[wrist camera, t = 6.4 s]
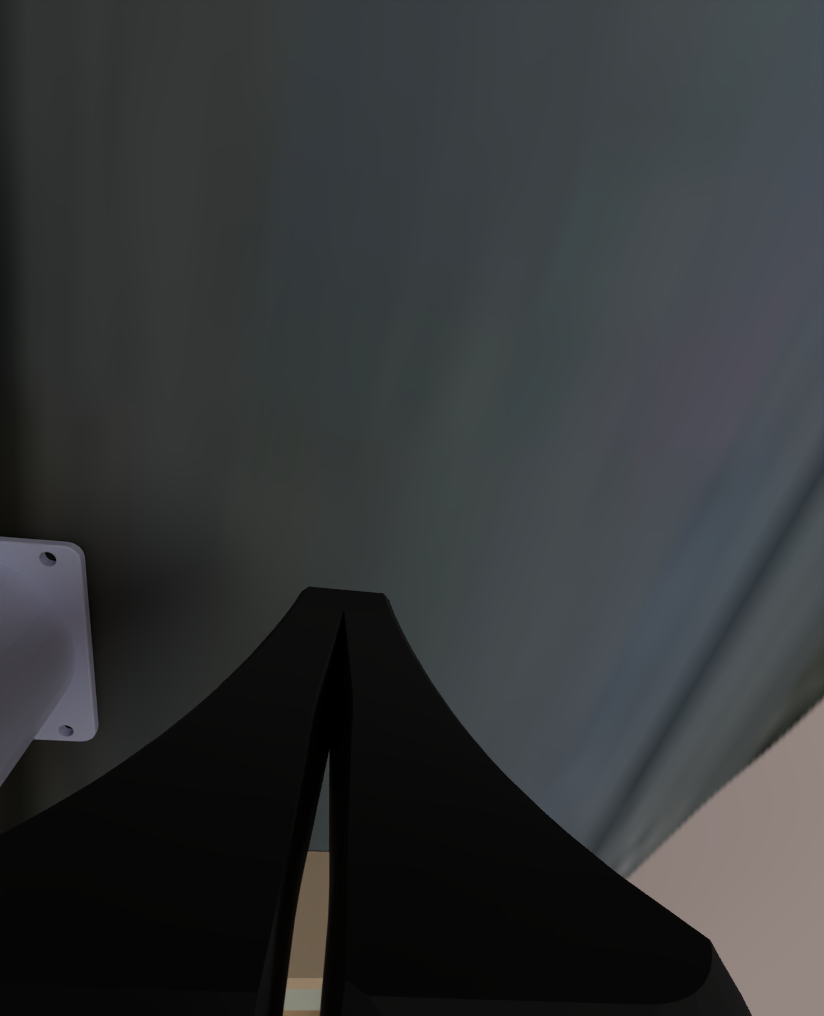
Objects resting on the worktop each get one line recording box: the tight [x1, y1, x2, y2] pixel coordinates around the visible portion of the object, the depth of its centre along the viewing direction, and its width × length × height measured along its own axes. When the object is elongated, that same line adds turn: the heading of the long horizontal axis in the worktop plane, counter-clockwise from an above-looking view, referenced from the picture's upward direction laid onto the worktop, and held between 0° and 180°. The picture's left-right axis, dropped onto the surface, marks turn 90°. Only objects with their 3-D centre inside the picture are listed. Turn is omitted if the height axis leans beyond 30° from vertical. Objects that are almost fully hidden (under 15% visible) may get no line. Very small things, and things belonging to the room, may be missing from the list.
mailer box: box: [283, 851, 329, 1016], centre depth 25 cm, size 12×10×5 cm
